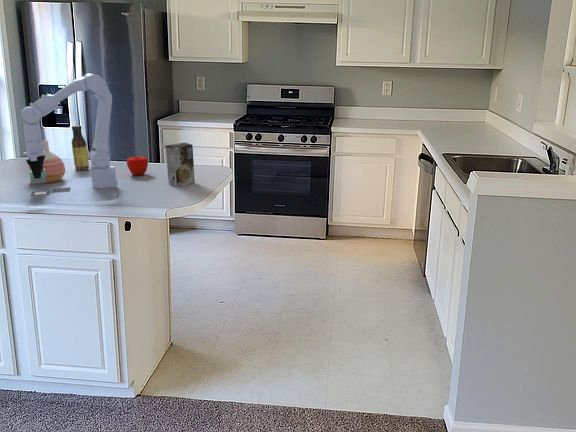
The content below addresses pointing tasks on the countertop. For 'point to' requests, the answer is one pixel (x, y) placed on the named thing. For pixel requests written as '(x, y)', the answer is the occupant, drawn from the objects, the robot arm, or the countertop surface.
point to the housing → (39, 180)
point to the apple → (137, 165)
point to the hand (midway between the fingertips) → (38, 176)
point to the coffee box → (180, 164)
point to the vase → (52, 165)
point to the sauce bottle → (79, 149)
